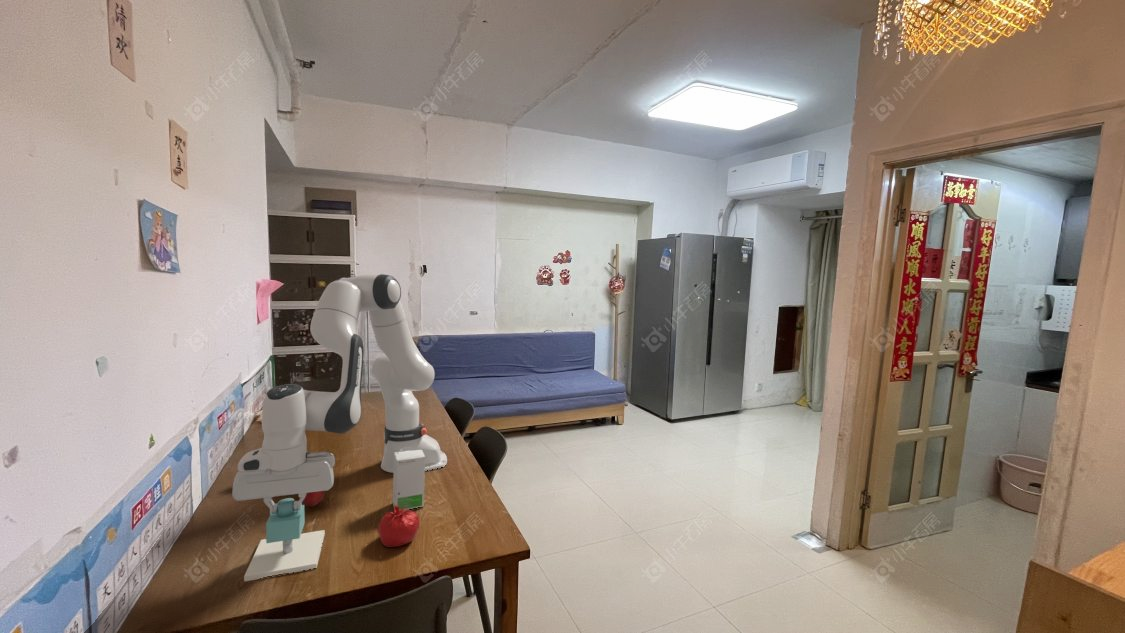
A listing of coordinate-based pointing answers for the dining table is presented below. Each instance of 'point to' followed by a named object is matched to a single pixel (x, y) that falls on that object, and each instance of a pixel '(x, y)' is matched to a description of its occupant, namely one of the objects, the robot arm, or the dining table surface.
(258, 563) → the post stand
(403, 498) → the skincare box
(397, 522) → the pomegranate
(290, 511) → the teal knobbed block
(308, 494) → the onion
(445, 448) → the dining table surface
